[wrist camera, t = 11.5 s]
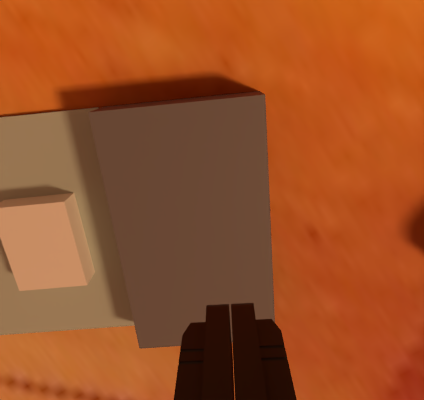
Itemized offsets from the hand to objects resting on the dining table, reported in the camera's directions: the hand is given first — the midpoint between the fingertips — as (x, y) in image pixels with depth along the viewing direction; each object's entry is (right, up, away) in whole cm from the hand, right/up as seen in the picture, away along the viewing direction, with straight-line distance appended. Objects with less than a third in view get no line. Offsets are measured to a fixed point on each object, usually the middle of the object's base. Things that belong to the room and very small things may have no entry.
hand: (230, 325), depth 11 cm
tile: (-17, -1, +22) cm, 28 cm away
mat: (-18, 0, +25) cm, 31 cm away
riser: (-2, +2, +24) cm, 24 cm away
